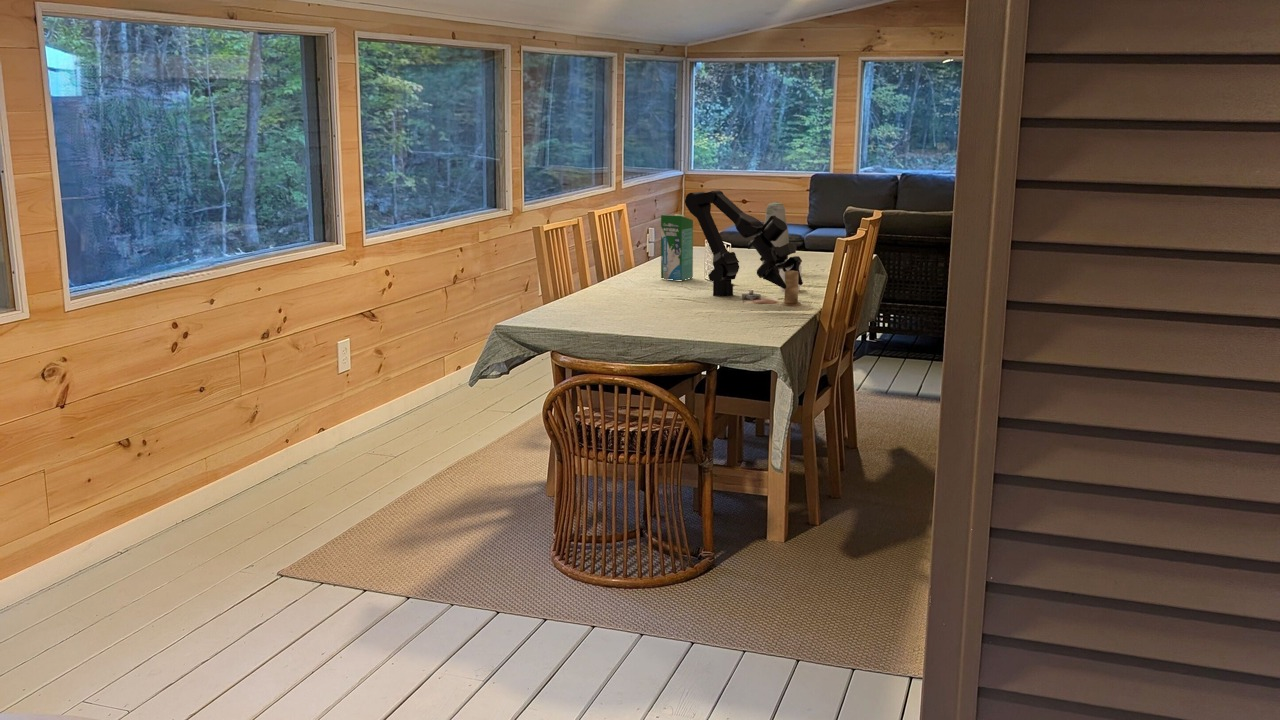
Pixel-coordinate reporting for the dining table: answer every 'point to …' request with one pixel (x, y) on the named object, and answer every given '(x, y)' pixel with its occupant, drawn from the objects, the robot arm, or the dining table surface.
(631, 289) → the dining table surface
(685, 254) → the milk carton
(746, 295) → the metal gear
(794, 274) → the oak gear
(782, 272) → the white cup
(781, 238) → the grey bottle
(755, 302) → the gear board
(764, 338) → the dining table surface
